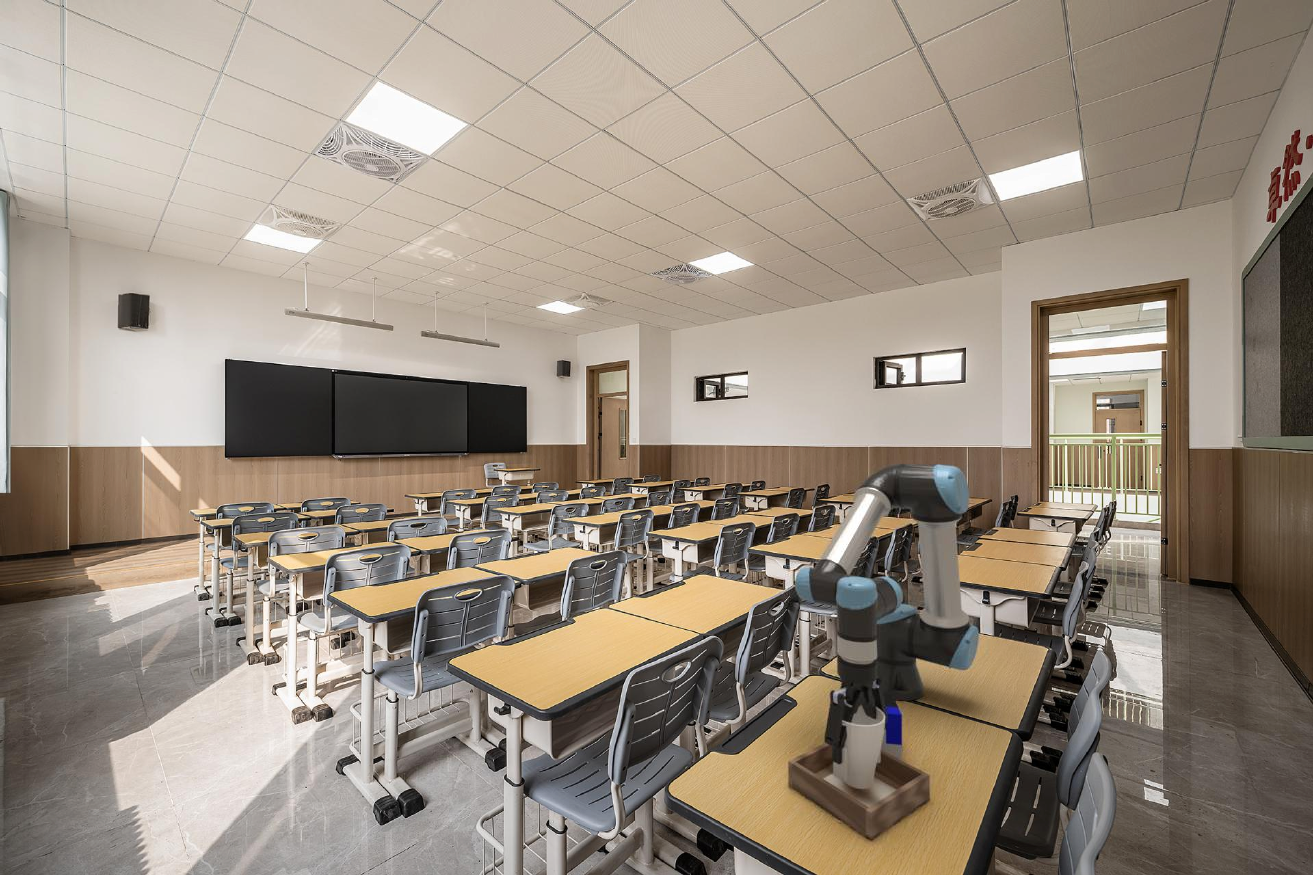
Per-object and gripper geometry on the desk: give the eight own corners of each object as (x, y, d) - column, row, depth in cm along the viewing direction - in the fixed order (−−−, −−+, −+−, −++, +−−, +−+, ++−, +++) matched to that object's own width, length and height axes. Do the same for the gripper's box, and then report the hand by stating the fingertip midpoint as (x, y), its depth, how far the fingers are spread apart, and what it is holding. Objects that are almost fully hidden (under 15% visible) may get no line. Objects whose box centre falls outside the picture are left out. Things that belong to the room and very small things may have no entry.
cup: (880, 803, 103) (880, 731, 103) (823, 785, 109) (823, 716, 109) (890, 774, 112) (889, 707, 112) (837, 758, 118) (836, 695, 118)
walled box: (847, 754, 124) (846, 732, 124) (929, 800, 108) (929, 774, 108) (788, 785, 113) (788, 760, 113) (870, 840, 97) (870, 812, 97)
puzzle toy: (902, 760, 122) (901, 714, 122) (854, 755, 124) (854, 710, 124) (892, 736, 132) (892, 694, 132) (848, 731, 134) (847, 690, 134)
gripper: (874, 639, 120) (874, 742, 120) (803, 664, 107) (804, 778, 107) (906, 650, 114) (907, 758, 114) (836, 677, 101) (836, 799, 101)
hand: (857, 768), depth 111 cm, fingers closed on cup, 10 cm apart
